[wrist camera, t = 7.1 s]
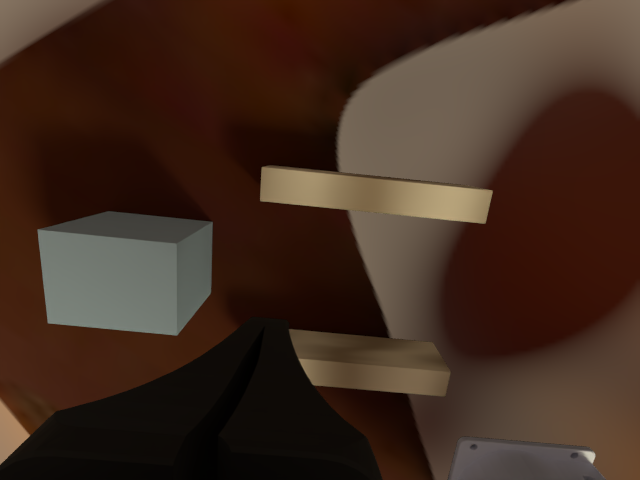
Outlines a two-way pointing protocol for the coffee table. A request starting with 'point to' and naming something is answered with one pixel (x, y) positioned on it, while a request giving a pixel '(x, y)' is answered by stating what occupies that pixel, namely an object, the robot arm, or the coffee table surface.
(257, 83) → the coffee table surface
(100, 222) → the block
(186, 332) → the coffee table surface
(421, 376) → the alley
